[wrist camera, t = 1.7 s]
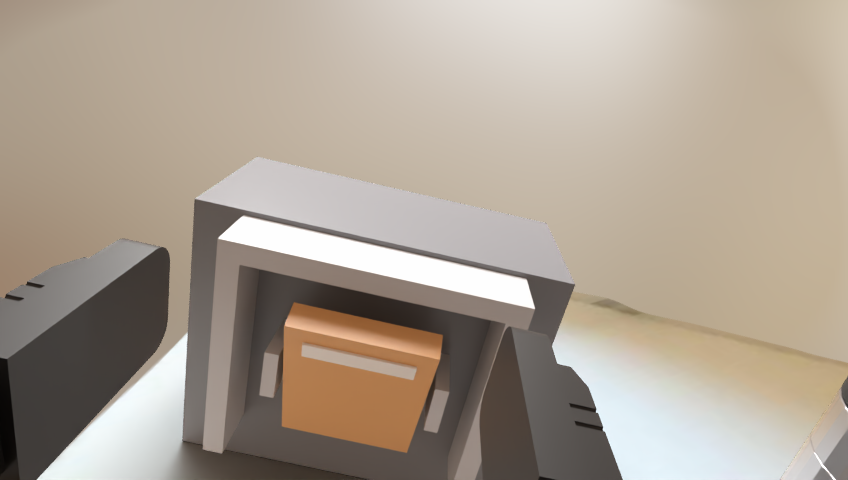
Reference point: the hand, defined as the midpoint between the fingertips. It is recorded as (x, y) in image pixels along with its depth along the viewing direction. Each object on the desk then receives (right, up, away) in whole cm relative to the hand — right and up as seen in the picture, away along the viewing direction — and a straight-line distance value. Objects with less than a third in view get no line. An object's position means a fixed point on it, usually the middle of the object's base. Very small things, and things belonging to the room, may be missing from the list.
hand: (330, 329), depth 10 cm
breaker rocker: (-3, -10, +23) cm, 26 cm away
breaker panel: (-4, -13, +29) cm, 33 cm away
